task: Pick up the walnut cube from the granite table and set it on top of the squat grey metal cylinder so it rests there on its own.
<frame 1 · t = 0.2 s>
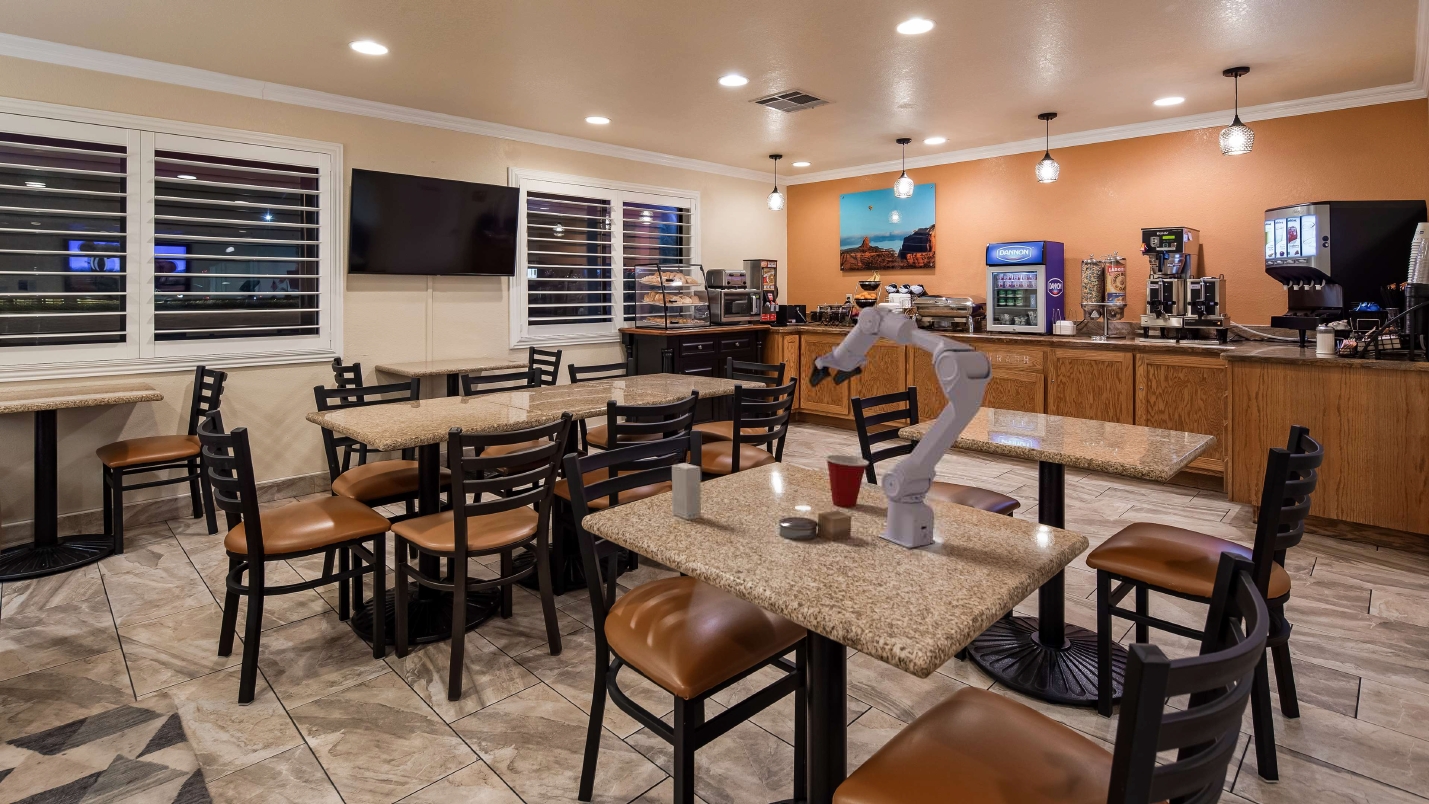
hand: (823, 383, 179), 31 cm above the table, tool tilted 45°, fingers open, 7 cm apart
plastic cup: (845, 505, 188), on the table
skincare box: (685, 517, 175), on the table
walnut block: (833, 537, 161), on the table
grey metal cylinder: (797, 535, 162), on the table
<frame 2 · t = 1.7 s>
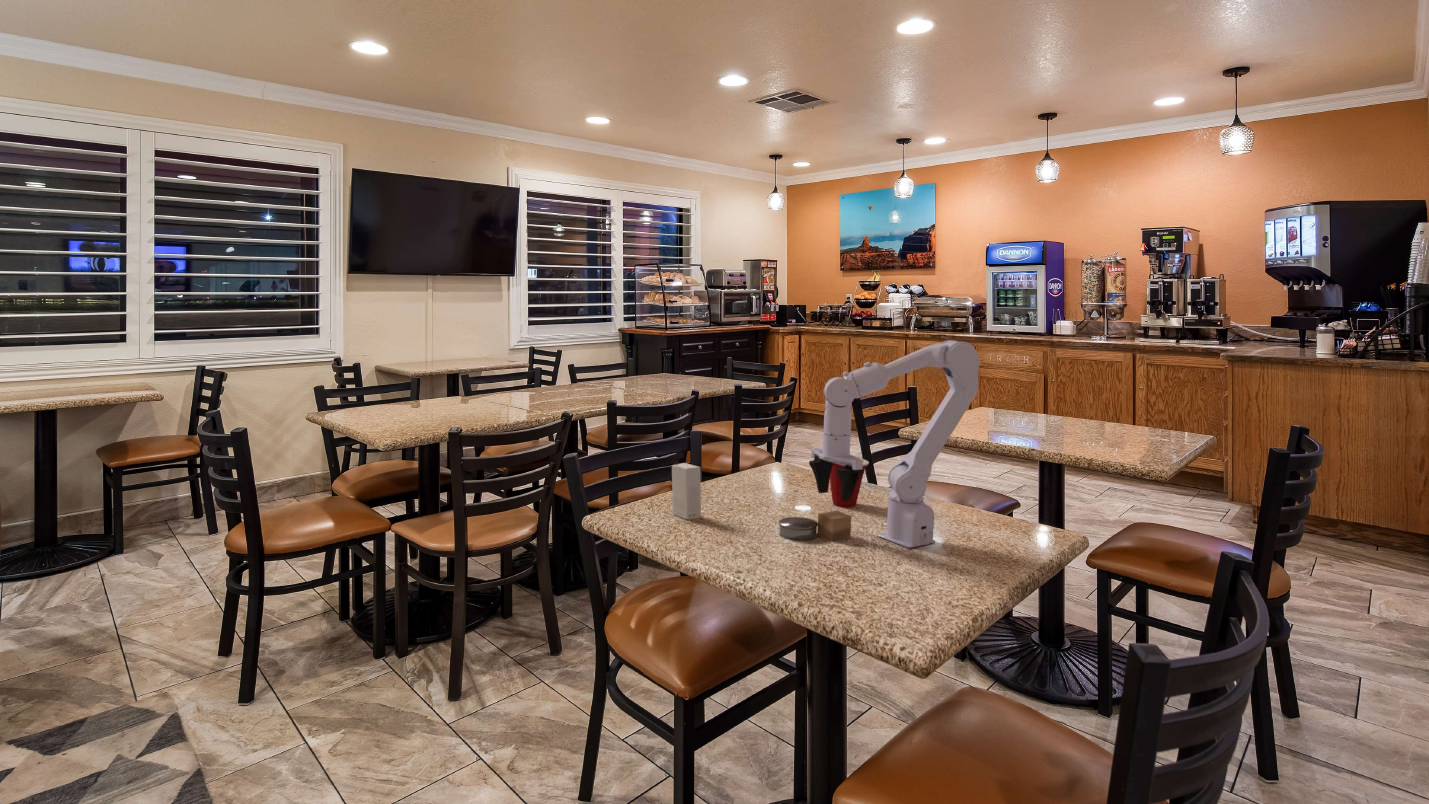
hand: (834, 496, 160), 9 cm above the table, tool pointing down, fingers open, 7 cm apart
nothing on the table moved.
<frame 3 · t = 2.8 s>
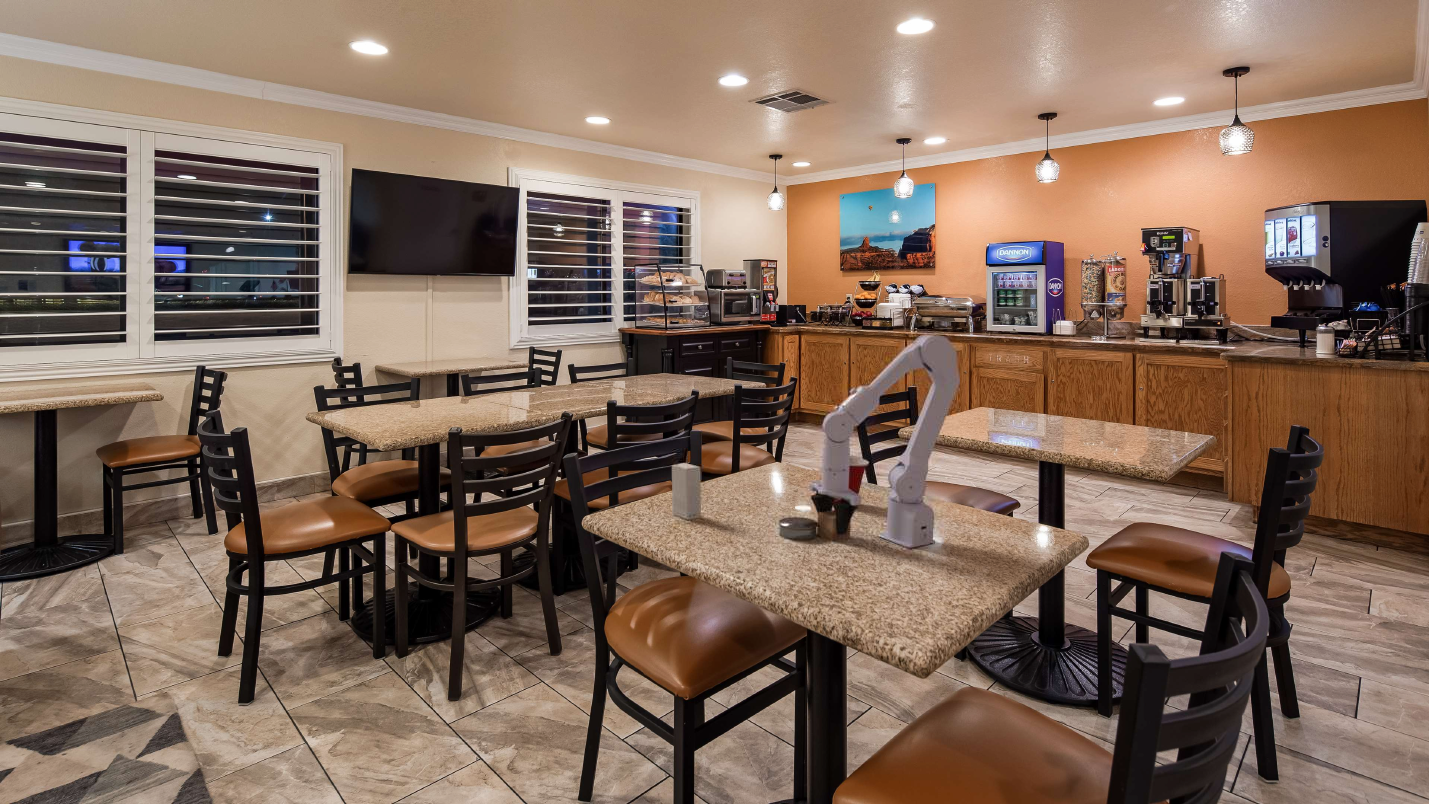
hand: (833, 530, 161), 1 cm above the table, tool pointing down, fingers closed on walnut block, 5 cm apart
walnut block: (833, 536, 161), on the table, touching gripper, grey metal cylinder
grey metal cylinder: (797, 535, 162), on the table, touching walnut block
everything else where it was.
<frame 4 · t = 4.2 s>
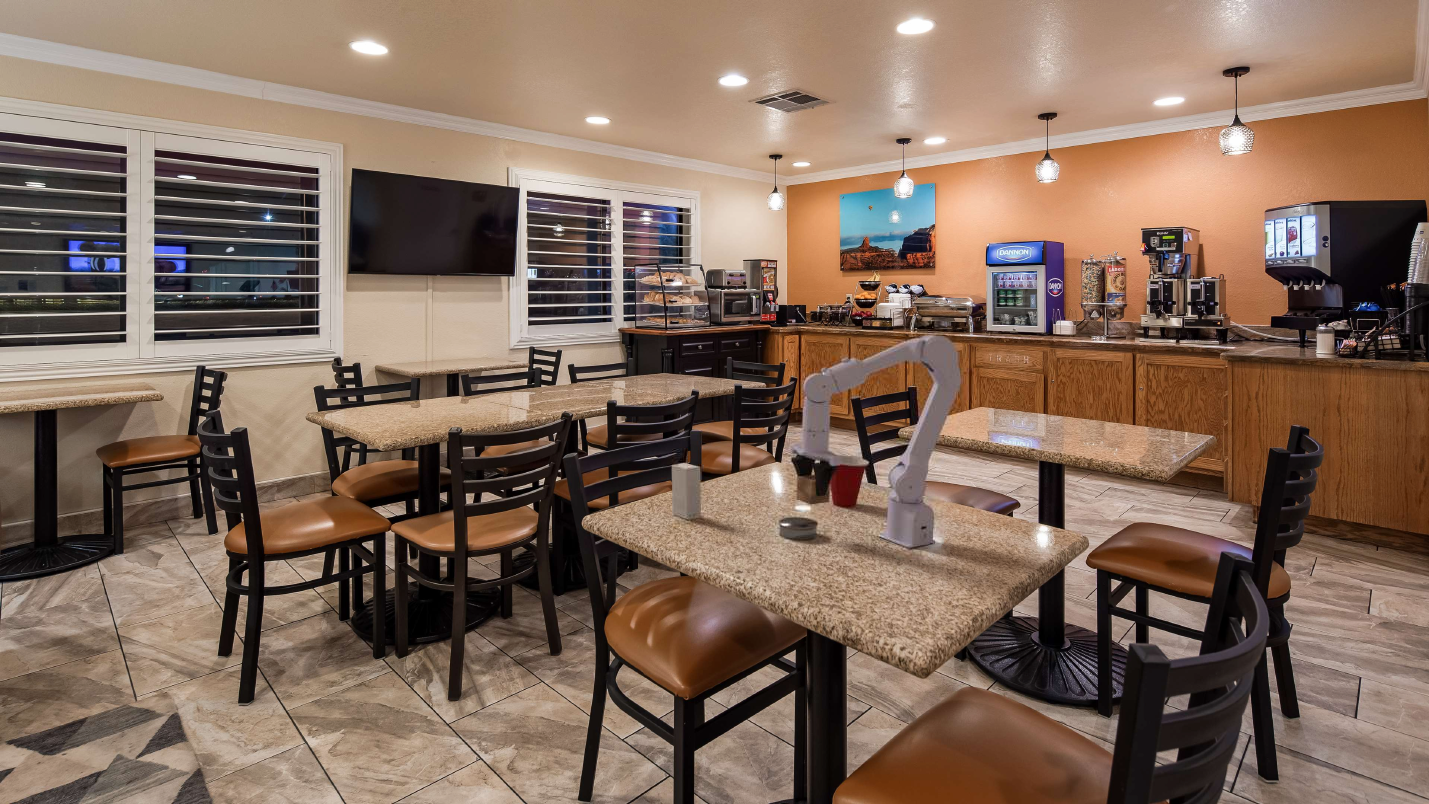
hand: (812, 492, 160), 10 cm above the table, tool pointing down, fingers closed on walnut block, 5 cm apart
walnut block: (812, 500, 161), point 8 cm above the table, touching gripper
grey metal cylinder: (797, 535, 162), on the table
everything else where it was.
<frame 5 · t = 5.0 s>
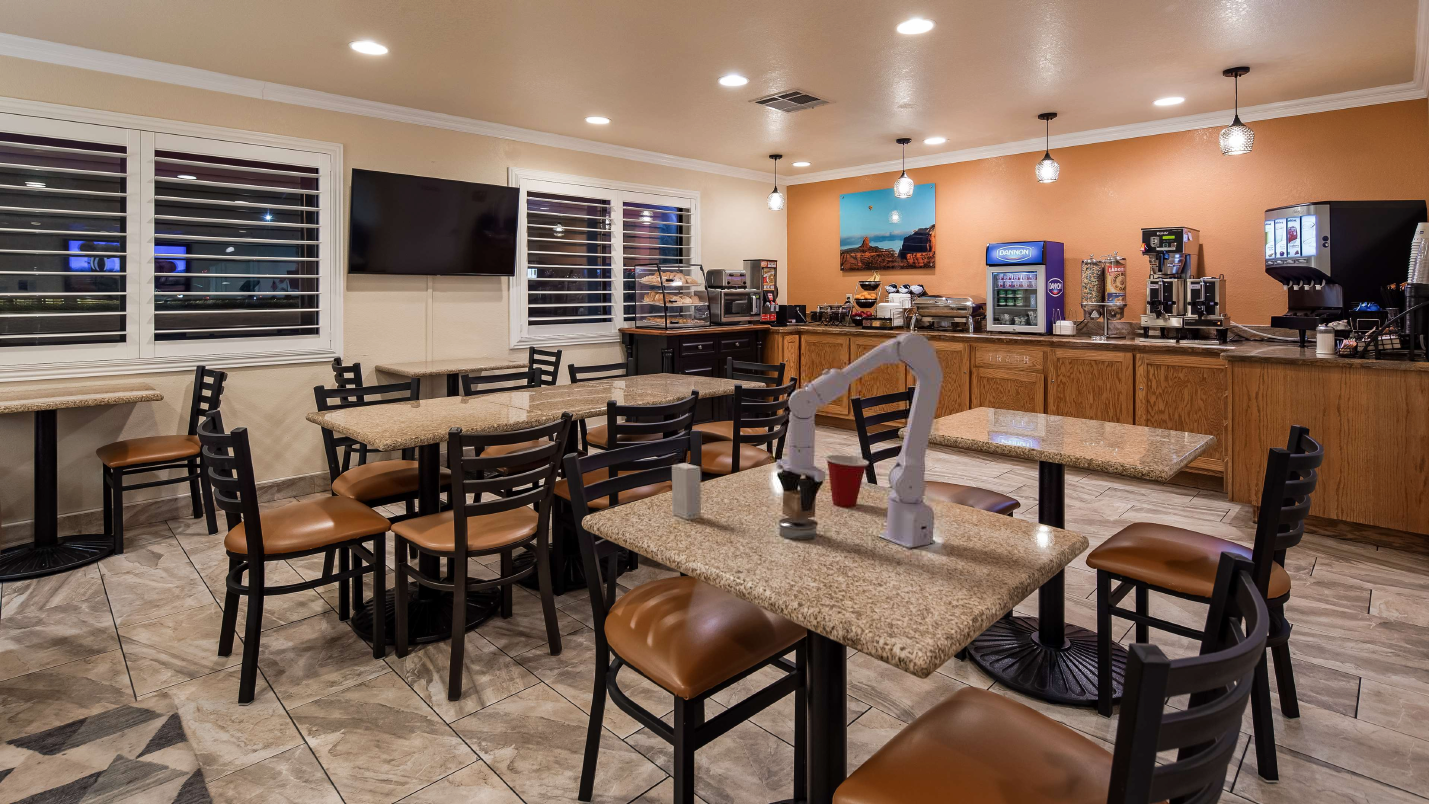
hand: (798, 507, 161), 6 cm above the table, tool pointing down, fingers closed on walnut block, 5 cm apart
walnut block: (798, 515, 161), point 4 cm above the table, touching gripper
everything else where it was.
when the fingers open (5 cm above the table, at t = 5.7 s): walnut block stays where it is, resting on grey metal cylinder.
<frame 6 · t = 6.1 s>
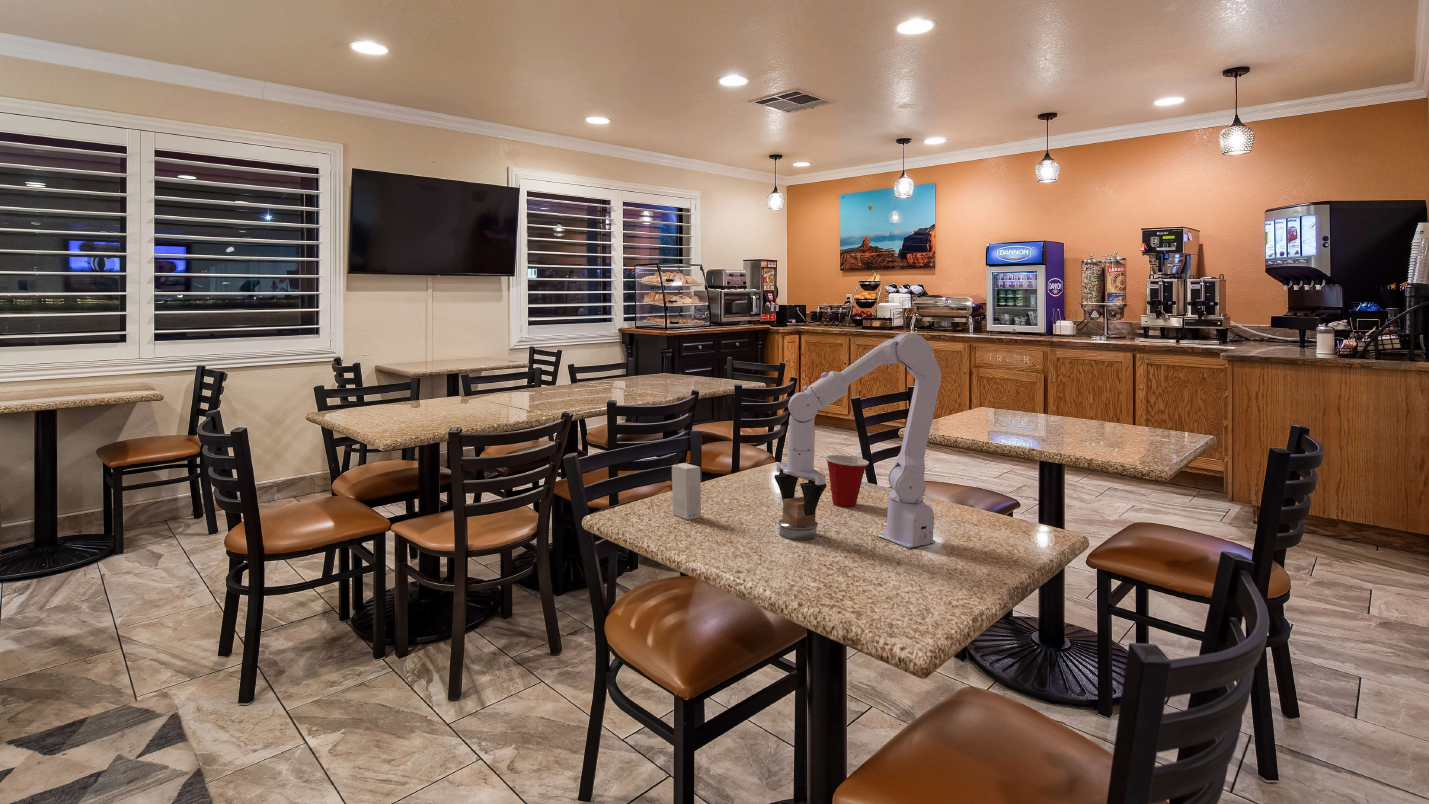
hand: (798, 510, 161), 5 cm above the table, tool pointing down, fingers open, 7 cm apart
walnut block: (798, 523, 161), point 3 cm above the table, touching grey metal cylinder
grey metal cylinder: (797, 536, 162), on the table, touching walnut block
everything else where it was.
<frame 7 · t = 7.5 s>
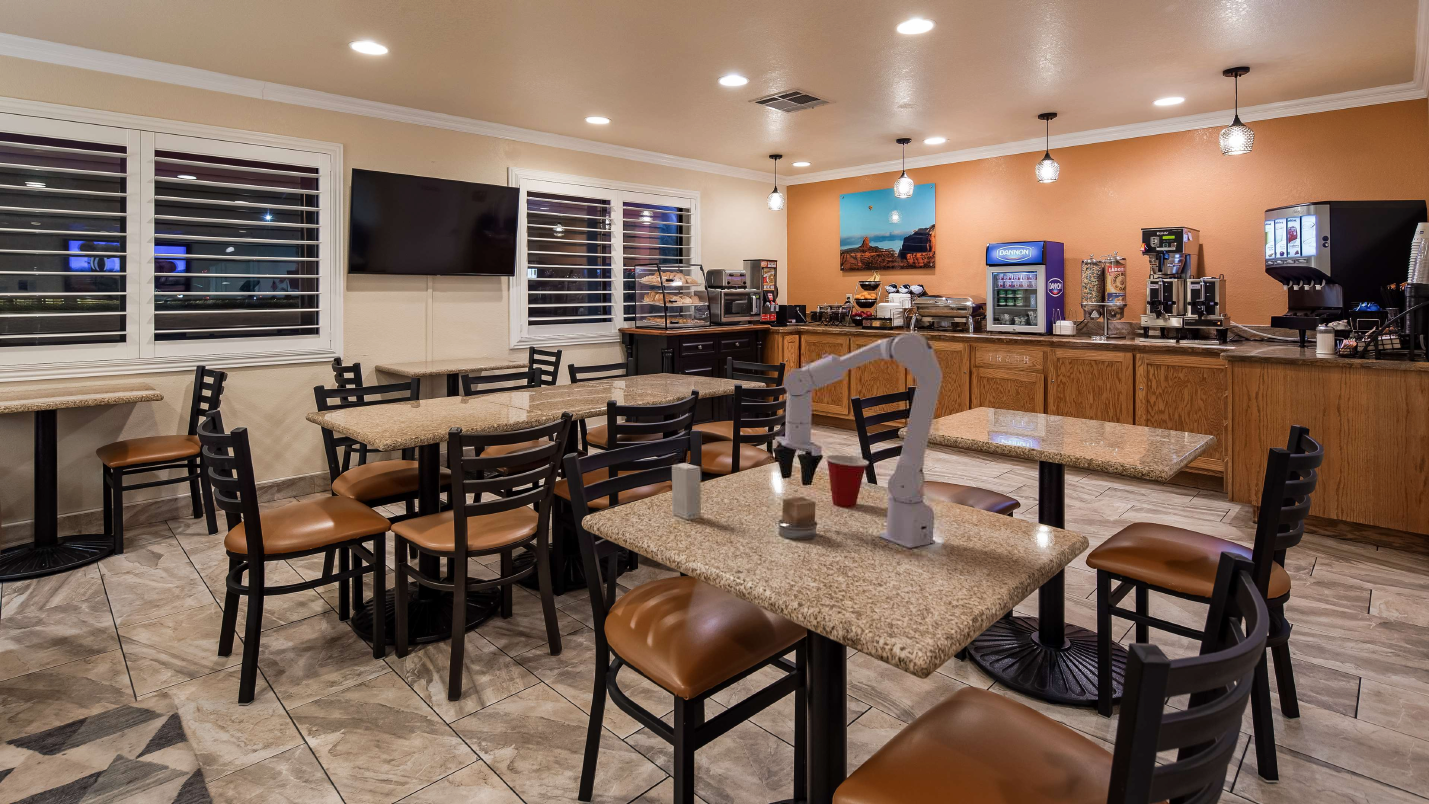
hand: (796, 481, 169), 10 cm above the table, tool pointing down, fingers open, 7 cm apart
nothing on the table moved.
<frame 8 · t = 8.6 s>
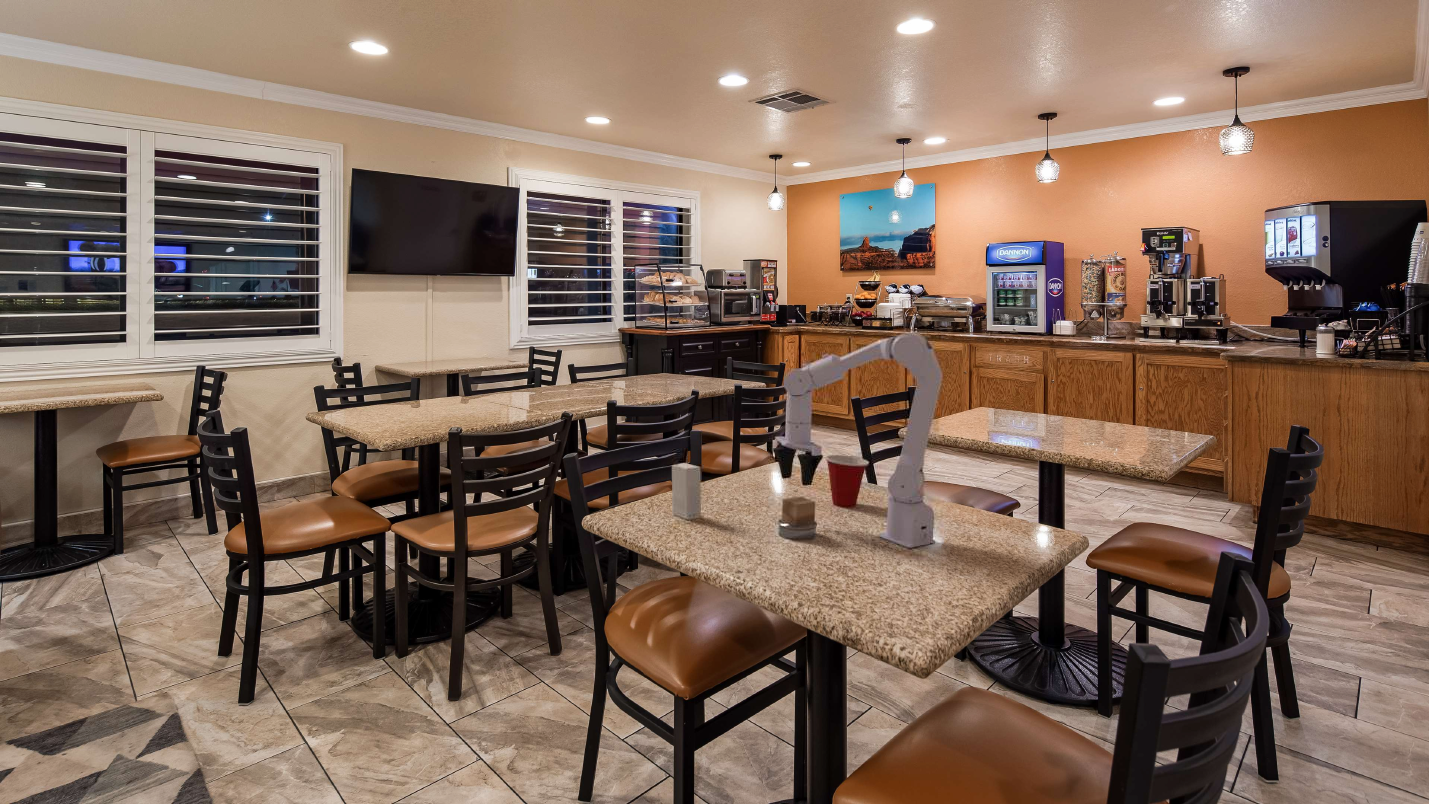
hand: (796, 481, 169), 10 cm above the table, tool pointing down, fingers open, 7 cm apart
nothing on the table moved.
at the end: walnut block 0.2 cm off-centre on the grey metal cylinder, point 3.0 cm above the grey metal cylinder's base; walnut block tilted 0°; the gripper is holding nothing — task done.
